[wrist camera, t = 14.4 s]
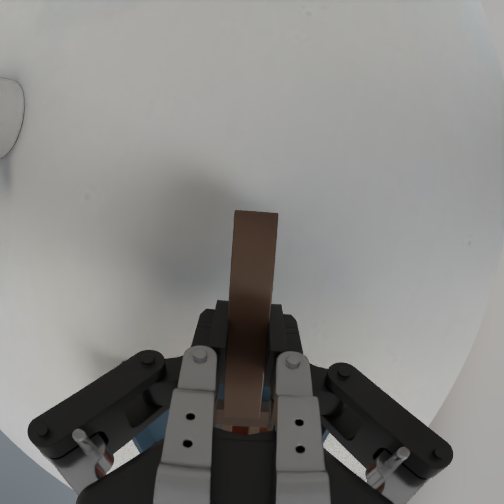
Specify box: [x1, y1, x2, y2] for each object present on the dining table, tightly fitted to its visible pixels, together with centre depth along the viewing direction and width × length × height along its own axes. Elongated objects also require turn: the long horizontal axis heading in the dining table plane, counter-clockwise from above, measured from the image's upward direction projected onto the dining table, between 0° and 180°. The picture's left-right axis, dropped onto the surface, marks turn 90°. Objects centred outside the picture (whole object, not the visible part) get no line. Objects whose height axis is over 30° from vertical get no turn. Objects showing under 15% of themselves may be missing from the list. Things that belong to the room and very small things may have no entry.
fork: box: [216, 210, 278, 435], centre depth 13 cm, size 16×5×2 cm, turn 176°
